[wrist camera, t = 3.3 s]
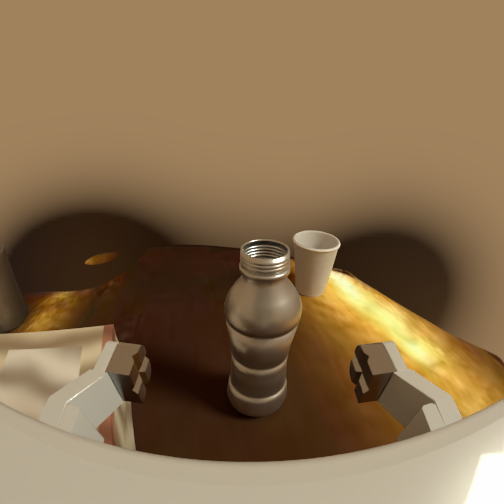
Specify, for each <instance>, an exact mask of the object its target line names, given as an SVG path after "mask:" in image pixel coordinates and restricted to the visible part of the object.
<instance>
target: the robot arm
mask: <svg viewBox="0 0 504 504" xmlns="http://www.w3.org/2000/svg"><path fill="white" fill-rule="evenodd" d="M145 354H146V350H145V347H144V346H143V345H137V344H129V343H122V342H115V341H108V342H107V343H106V344H105V346H104V348H103V350H102V352H101V354H100V356H99V358H98V360H97V362H96V364H95V366H94V368H93V370H91V369H90V370H88V371H87V372H85V373H84V374H82V375H81V376H79V377H78V378H76V379H75V380H73V381H72V382H70V383H69V384H67V385H66V386H64V387H63V388H61V389H60V390H58V391H57V392H55V393H54V394H52V395H51V396H50V397H49V399H48V401H47V403H46V405H45V407H44V409H43V411H42V413H41V415H40V418H39V420H37V419H34V418H32V417H30V416H28V415H25V414H23V413H21V412H19V411H17V410H15V409H13V408H11V407H9V406H7V405H5V404H3V403H1V402H0V504H504V399H502V400H500V401H498V402H496V403H494V404H492V405H491V406H489V407H487V408H485V409H483V410H481V411H478V412H476V413H474V414H472V415H470V416H468V417H465V418H462V416H461V414H460V412H459V410H458V408H457V406H456V404H455V402H454V400H453V398H452V396H451V395H449V394H448V393H446V392H445V391H443V390H442V389H440V388H439V387H437V386H436V385H434V384H433V383H431V382H430V381H428V380H427V379H425V378H424V377H422V376H421V375H419V374H418V373H416V372H415V371H413V370H412V369H408V368H407V366H406V364H405V362H404V360H403V358H402V356H401V355H400V353H399V351H398V349H397V347H396V345H395V343H394V342H393V341H388V342H381V343H372V344H364V345H358V346H357V347H356V349H355V354H356V356H355V357H354V358H353V359H352V361H351V364H350V377H351V381H352V382H353V383H354V384H356V385H357V386H356V388H355V393H356V397H357V400H358V403H363V402H370V401H376V400H378V402H379V403H380V404H381V405H382V406H383V407H384V408H385V409H386V410H387V411H388V412H389V413H390V414H391V415H392V416H393V417H394V418H396V419H397V420H398V421H399V422H400V423H401V424H402V425H403V426H404V427H405V429H404V430H403V431H402V432H401V433H400V435H399V436H398V437H397V440H398V442H395V443H391V444H388V445H384V446H380V447H375V448H371V449H367V450H362V451H357V452H352V453H346V454H340V455H334V456H327V457H320V458H312V459H302V460H290V461H273V462H224V461H207V460H195V459H185V458H177V457H170V456H163V455H157V454H151V453H145V452H140V451H135V450H131V449H126V448H122V447H117V446H113V445H110V444H106V443H104V438H103V436H102V435H101V434H100V433H99V432H98V431H97V429H96V428H97V427H98V426H99V425H100V424H101V423H102V422H103V421H104V420H105V419H106V418H107V417H108V416H109V415H110V414H112V413H113V412H114V411H115V410H116V409H117V408H118V407H119V406H120V405H121V404H122V403H123V401H128V402H135V403H142V404H143V401H144V397H145V394H146V388H145V386H144V385H146V384H147V383H148V382H149V380H150V376H151V365H150V361H149V359H148V358H147V357H145Z"/></svg>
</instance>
